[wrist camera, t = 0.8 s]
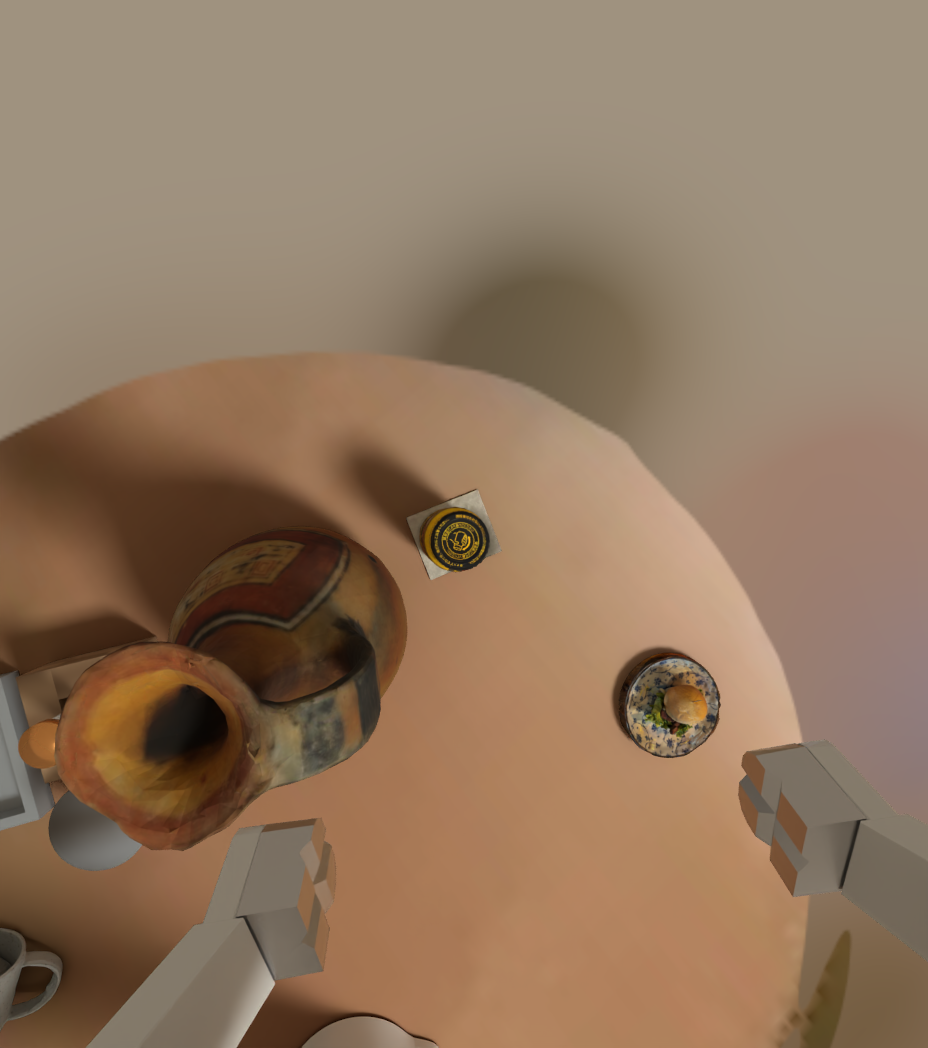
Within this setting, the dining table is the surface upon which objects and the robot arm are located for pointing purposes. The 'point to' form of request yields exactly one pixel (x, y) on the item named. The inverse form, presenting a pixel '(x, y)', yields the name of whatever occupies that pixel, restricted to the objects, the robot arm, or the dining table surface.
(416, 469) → the dining table surface
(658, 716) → the burger
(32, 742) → the pin
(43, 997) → the ceramic mug
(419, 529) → the condiment
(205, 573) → the ceramic pitcher
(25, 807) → the tray
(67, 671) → the block
